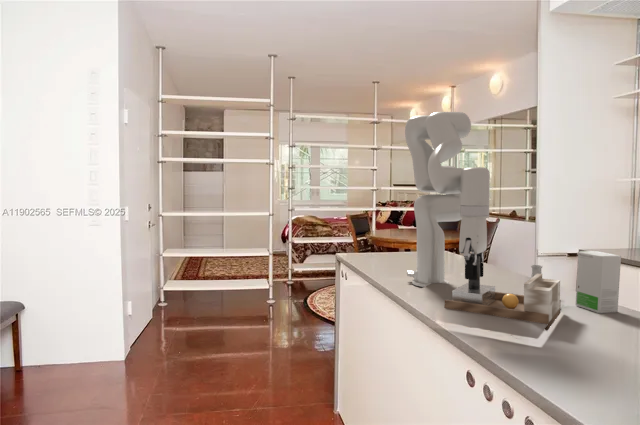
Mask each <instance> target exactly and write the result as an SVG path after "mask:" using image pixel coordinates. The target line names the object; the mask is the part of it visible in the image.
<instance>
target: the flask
mask: <svg viewBox="0 0 640 425" xmlns="http://www.w3.org/2000/svg"><path fill="white" fill-rule="evenodd" d="M530 267H531V276H530V279H531V278H532V277H533V276H535V275H536V274H542V275H543V273H542V269H543V265H540V264H531V265H530Z"/></svg>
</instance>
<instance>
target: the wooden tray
mask: <svg viewBox="0 0 640 425" xmlns="http://www.w3.org/2000/svg"><path fill="white" fill-rule="evenodd" d="M523 285H524V286H523V289H524V290H523V294H515V293H513V294H514V295H515V296H516V297H517V298H518V301H519V303H518V305H517V307H516V308H514V309H509V308H506V307H505V306H504V305H503V303H502V298H503V296H504V295H506V294H511V293H509V292H508V293H507V292H501V291H495V301H493V302H492V303H491V304H489V305H481V304H474V303H468V302H461V301H454V300H452V299H444V309H450V310H457V311H461V312H468V313H475V314H482V315H487V316H488V315H489V316H492V317H493V316H494V317H495V316H496V317H501V318H508V319H514V320H520V321H526V322H532V323H537V324H538V323H539V324H545V325H546V326H545V328H544V329H545V330H544V331H548V330H550V328H551V327H552V325H553V324H554V322H555V321H556V320H555V319H557V318H558V317H559V315H560V314H561V302H562V301H561V280H560V279H551V278H543V273H542V274H536V275H535V276H533V277H532V278H531V277H530V278H529V279H528V280H527V281H526V282H524V283H523ZM550 326H551V327H550Z"/></svg>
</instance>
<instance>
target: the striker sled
mask: <svg viewBox="0 0 640 425" xmlns="http://www.w3.org/2000/svg"><path fill="white" fill-rule="evenodd" d="M472 258H473V256H472ZM476 265H477V280H469V279H467V280H468V282H466V283H464V284H462V285H460V286H458V287H456V288H455V289H452V290H451V292H452V293H451V296H452V297H451V300H454V301H461V302H468V303H474V304H481V305H489V304H491V303H492V302H493V301H495V292H496V286H495V285H487V284H481V277H480V256H477V259H476Z"/></svg>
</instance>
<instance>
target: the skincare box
mask: <svg viewBox="0 0 640 425" xmlns="http://www.w3.org/2000/svg"><path fill="white" fill-rule="evenodd" d="M577 253H578V255H577V270H576V271H577V272H576V274H577V275H576V290H575V291H576V294H575V306H577V307H580V308H582V309H585V310H588V311H591V312H594V313H597V314H609V313H618V312H619V310H618V309H619V296H620V295H619V294H620V292H619V291H620V281H621V280H620V278H621V265H622V264H621V262H622V256H621V255H618V254H614V253H608V252H603V251H598V250H587V251H581V250H580V251H578V252H577Z"/></svg>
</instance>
